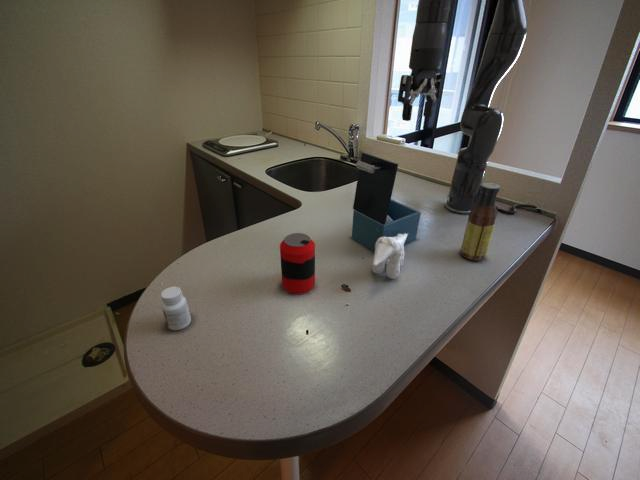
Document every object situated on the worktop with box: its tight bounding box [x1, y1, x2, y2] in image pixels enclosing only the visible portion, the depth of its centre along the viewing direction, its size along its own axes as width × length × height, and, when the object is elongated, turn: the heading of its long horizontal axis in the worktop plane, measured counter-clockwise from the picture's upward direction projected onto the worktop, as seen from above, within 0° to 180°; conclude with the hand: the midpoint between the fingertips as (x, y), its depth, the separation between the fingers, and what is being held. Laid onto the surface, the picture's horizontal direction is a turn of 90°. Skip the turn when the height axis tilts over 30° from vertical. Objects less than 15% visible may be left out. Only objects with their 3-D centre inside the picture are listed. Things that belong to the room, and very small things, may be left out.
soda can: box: [279, 232, 316, 295], centre depth 70 cm, size 8×8×12 cm
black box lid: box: [352, 152, 399, 225], centre depth 79 cm, size 15×12×5 cm
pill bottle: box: [160, 286, 192, 331], centre depth 60 cm, size 4×4×8 cm
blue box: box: [351, 198, 422, 253], centre depth 90 cm, size 15×12×9 cm
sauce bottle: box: [460, 182, 501, 262], centre depth 80 cm, size 7×6×20 cm
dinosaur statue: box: [371, 233, 408, 280], centre depth 77 cm, size 7×24×11 cm, turn 148°
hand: (416, 118), depth 83 cm, fingers open, 8 cm apart
